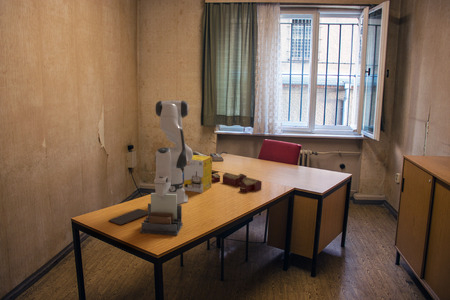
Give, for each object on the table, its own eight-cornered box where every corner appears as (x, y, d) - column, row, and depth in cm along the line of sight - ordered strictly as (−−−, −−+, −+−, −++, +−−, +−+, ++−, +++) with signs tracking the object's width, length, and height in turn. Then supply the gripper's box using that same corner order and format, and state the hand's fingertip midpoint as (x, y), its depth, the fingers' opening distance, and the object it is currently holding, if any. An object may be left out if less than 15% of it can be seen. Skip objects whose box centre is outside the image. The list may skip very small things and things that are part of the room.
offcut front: (150, 227, 208) (150, 216, 207) (171, 229, 207) (171, 217, 206) (149, 229, 206) (149, 217, 205) (170, 230, 205) (170, 218, 204)
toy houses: (263, 188, 294) (263, 176, 292) (247, 194, 279) (247, 181, 277) (222, 177, 324) (222, 166, 322) (205, 182, 309) (206, 170, 307)
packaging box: (183, 190, 285) (183, 158, 280) (193, 184, 299) (193, 154, 294) (202, 192, 279) (203, 160, 274) (211, 187, 293) (212, 156, 288)
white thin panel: (151, 222, 216) (151, 192, 212) (176, 223, 214) (176, 194, 211) (151, 223, 214) (150, 193, 211) (176, 224, 213) (176, 195, 209)
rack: (148, 222, 219) (147, 202, 216) (182, 225, 217) (182, 204, 214) (140, 233, 204) (139, 211, 202) (177, 235, 202) (177, 214, 200)
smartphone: (106, 220, 219) (138, 208, 240) (106, 222, 220) (138, 210, 240) (120, 225, 212) (151, 212, 233) (120, 227, 213) (151, 214, 233)
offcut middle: (151, 224, 212) (151, 211, 210) (173, 226, 211) (173, 213, 209) (150, 226, 210) (150, 213, 208) (172, 227, 209) (172, 214, 207)
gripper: (163, 171, 219) (163, 193, 222) (153, 181, 199) (153, 205, 202) (173, 172, 219) (173, 194, 221) (164, 181, 199) (164, 205, 201)
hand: (163, 199), depth 212 cm, fingers closed on white thin panel, 2 cm apart
